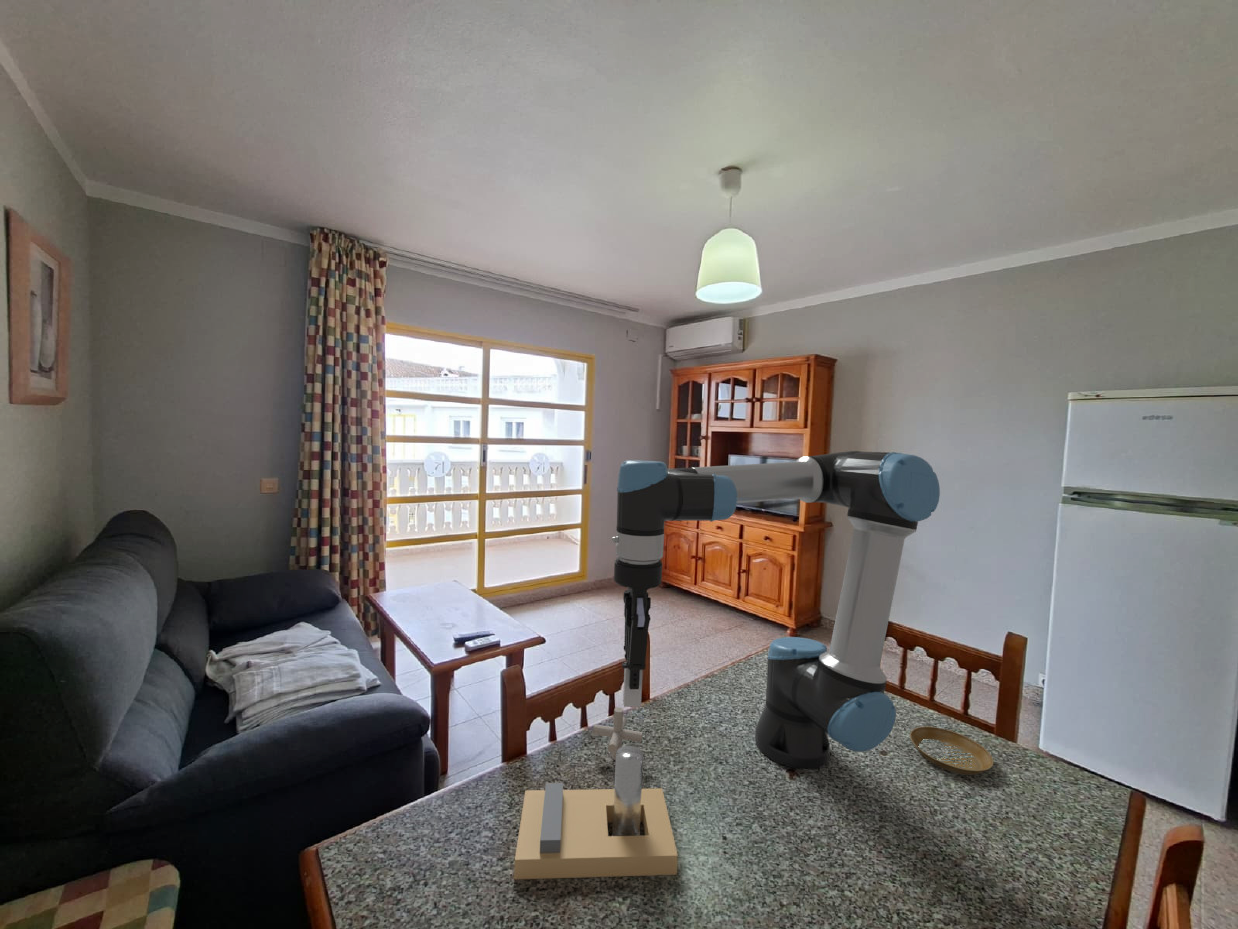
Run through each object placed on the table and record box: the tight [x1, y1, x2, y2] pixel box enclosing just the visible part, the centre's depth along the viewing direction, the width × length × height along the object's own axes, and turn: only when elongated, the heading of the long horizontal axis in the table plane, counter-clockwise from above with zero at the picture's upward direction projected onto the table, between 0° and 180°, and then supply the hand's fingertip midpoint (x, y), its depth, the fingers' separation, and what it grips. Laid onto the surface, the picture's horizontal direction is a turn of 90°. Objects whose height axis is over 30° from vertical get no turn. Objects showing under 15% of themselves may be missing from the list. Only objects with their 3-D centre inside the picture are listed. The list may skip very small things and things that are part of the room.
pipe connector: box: [592, 706, 644, 761], centre depth 99 cm, size 10×10×10 cm
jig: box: [513, 782, 679, 880], centre depth 79 cm, size 24×14×5 cm, turn 95°
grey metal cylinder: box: [611, 745, 644, 836], centre depth 79 cm, size 4×4×14 cm
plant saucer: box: [909, 725, 995, 776], centre depth 104 cm, size 15×15×3 cm
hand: (631, 703), depth 78 cm, fingers closed
